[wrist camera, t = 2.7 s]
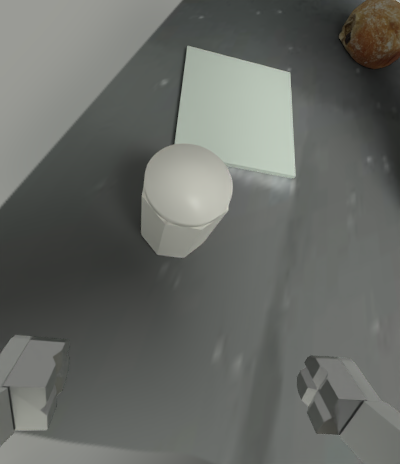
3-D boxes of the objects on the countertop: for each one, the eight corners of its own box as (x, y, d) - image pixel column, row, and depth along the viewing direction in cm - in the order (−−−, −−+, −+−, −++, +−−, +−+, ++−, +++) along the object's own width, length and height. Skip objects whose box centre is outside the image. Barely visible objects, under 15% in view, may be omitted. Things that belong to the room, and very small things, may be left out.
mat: (287, 76, 37) (290, 72, 36) (292, 178, 31) (295, 176, 31) (186, 50, 34) (187, 45, 34) (172, 155, 29) (173, 152, 28)
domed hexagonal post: (206, 203, 28) (234, 152, 20) (201, 260, 26) (231, 229, 18) (147, 194, 27) (150, 135, 19) (138, 252, 25) (137, 215, 17)
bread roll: (324, 44, 47) (336, -5, 39) (387, 21, 45) (412, -34, 38) (345, 89, 44) (361, 46, 37) (412, 67, 43) (445, 17, 35)
